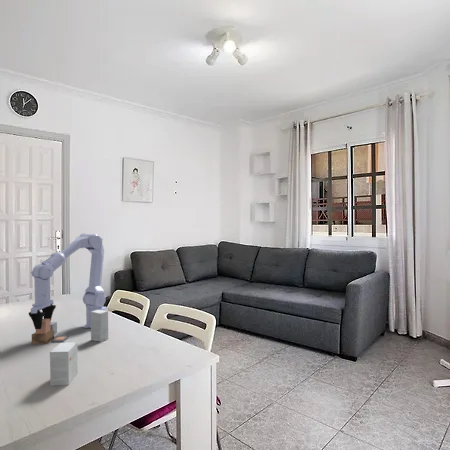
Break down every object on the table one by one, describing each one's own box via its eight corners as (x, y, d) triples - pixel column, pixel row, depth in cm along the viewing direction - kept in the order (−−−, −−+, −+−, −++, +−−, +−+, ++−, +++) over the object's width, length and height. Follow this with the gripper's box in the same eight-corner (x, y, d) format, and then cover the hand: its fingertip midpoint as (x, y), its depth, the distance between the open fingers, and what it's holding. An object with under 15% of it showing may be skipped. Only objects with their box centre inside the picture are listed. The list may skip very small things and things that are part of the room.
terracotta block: (50, 330, 140) (50, 318, 140) (45, 333, 136) (45, 321, 136) (40, 330, 140) (40, 318, 140) (35, 333, 136) (35, 321, 136)
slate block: (57, 333, 148) (56, 321, 148) (52, 336, 144) (52, 324, 144) (47, 333, 148) (47, 322, 148) (43, 336, 144) (43, 324, 144)
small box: (60, 374, 109) (60, 342, 109) (78, 373, 109) (77, 341, 109) (49, 386, 101) (49, 352, 101) (68, 385, 101) (68, 351, 101)
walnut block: (54, 339, 141) (54, 329, 141) (46, 344, 135) (45, 334, 135) (40, 338, 141) (40, 329, 141) (31, 344, 135) (31, 334, 135)
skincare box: (108, 338, 141) (108, 310, 140) (101, 342, 137) (100, 313, 137) (98, 336, 143) (97, 309, 143) (90, 340, 139) (90, 311, 139)
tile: (68, 337, 142) (68, 335, 142) (63, 342, 137) (63, 340, 137) (56, 337, 142) (56, 336, 142) (51, 342, 137) (51, 340, 137)
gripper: (41, 289, 145) (42, 320, 145) (22, 297, 131) (23, 331, 131) (58, 289, 145) (58, 320, 146) (40, 297, 131) (41, 331, 131)
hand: (42, 325), depth 138 cm, fingers open, 7 cm apart
